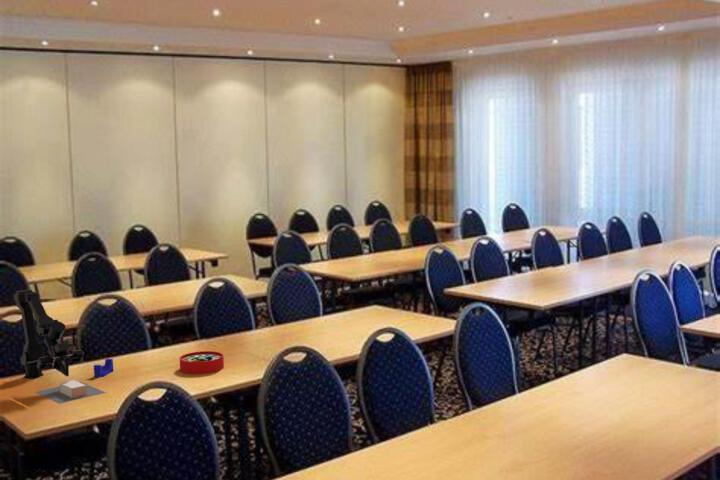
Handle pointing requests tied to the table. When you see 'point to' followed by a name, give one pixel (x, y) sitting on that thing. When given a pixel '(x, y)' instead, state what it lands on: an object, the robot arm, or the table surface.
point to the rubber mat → (62, 398)
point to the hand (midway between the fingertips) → (67, 375)
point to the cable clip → (103, 368)
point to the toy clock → (201, 362)
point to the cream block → (73, 389)
